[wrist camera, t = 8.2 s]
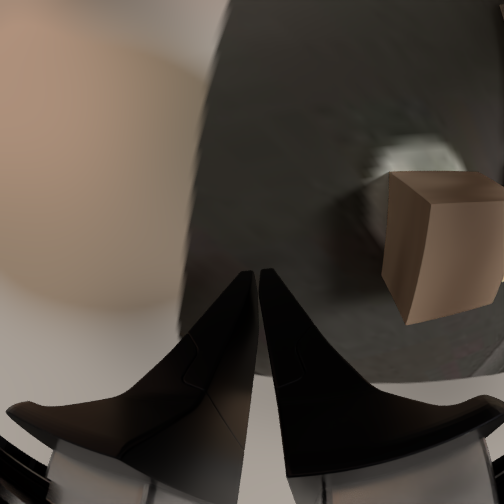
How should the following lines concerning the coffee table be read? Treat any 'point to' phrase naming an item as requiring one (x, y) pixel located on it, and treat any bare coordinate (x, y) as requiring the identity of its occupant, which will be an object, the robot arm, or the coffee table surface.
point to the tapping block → (443, 242)
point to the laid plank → (502, 9)
